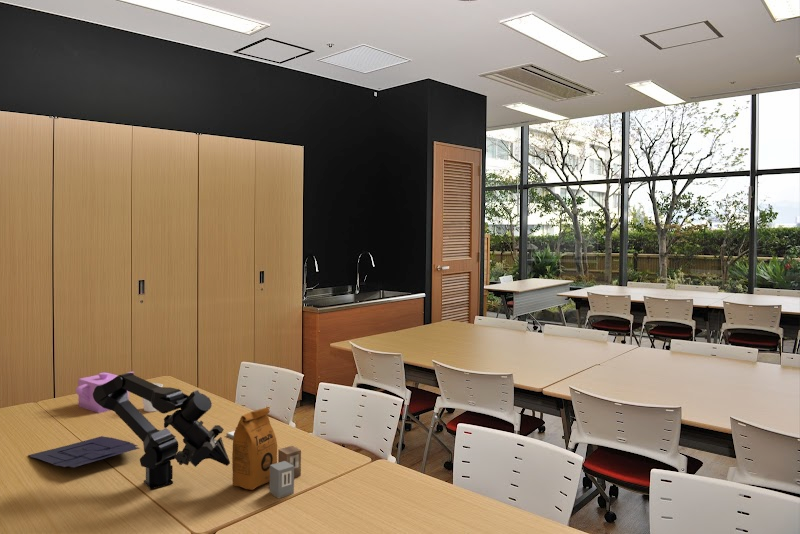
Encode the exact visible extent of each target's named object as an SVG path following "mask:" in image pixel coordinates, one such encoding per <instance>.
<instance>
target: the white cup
mask: <svg viewBox="0 0 800 534" xmlns="http://www.w3.org/2000/svg"><path fill="white" fill-rule="evenodd" d="M152 383H153V384H155V385H157V386H159V387H164V384H162V383H159V382H152ZM142 404H143V411H144V412H149V413H150V412H151V413H152V412H159V411H158V410H156V409H155V408H153V406H152V404H151V402H150V401H148V400H146V399H144V398H142Z"/></svg>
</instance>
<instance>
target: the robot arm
mask: <svg viewBox="0 0 800 534" xmlns="http://www.w3.org/2000/svg"><path fill="white" fill-rule="evenodd" d="M117 375H118V376H117V377H115V378H114V379H113V380H111V381H109V382H107V383H105V384H102V385H99V386H97V387H96V388H95V389H94V392H93V398H94V400H95V402H96V403H98V404H99V405H100V406H102V407H103V408H106V409H109V411H112V412H114V413H115V414H116V415H117V416H118V417H119V418H120V419H121V420H122V421H123V422H124V423H125V425H126V426H127V427H129V429H131V431H132V432H133V433H134V434H135V435H136V436H137V437H138V438H139V439H140V440H141V442H142V444H143V452H144V454H143V455H142V456H141V457H140V458H139V464H140V466H141V467H143V468H145V479H144V480H143V483H144V484H145V485H146V486H147V487H148V489H150V490H154V489H157V488H161V487H165V486H168V485H169V486H170V485H172V484H173V483H174V481H173V475H174V474H173V473H174V472H173V469H174V468H173V465H172V461H174V460H176V462H177V463H178V465H179V466H181V465H185V466H188V465H189V464H192V465H193V467H195V468H196V467H197V466H199V464H200V463H201V462H203V461H204V460H207V459H208V460H209V459H210V460H212V461H216V462H218V463H220V464H222V465H224V466H226V467H227V466H229V465H230V463H231V460H230V459H229V456H228V454H227V451H226V448H225V445H224V441H223V438H222V437H221V436H220V437H218V436H219V435H220V434H222V433H223V432H224V428H223V427H222V426H221V425H220V424H219V425H218V424H216V425H213V427H212V428H211V429H209V430H208V429H207V428H206V427H205V426H204V425H203V424H204V421H202V420H200V421H199V419H200V418H202V417H203V416H204V415H205V414H206V413H207V412H209V411H210V410H211V408H212V400H211V399H210V397H208V396H207V395H206V394H203V393H201V392H200V391H199V390H197V389H196V390H194V391H192V392H191V393H190V394H189V395H188V394H187V393H184V392H183V391H182V390H181V389H179V388H176V387H171V386H170V387H168V386H167V387H164V386H163V387H159V386H157V385H155V384H153V383H154V382H150V381H148V380H147V379H144V378H141V377H139V376H137V375H135V373H134V372H133V373H128V372H126V373H122V374H117ZM127 391H129V393H131V394H133V395H135V396H138V397H139V398H141V399H143V398H144V399H146V400H148V401H150V402H151V404H152V406H153V408H155V409H156V410H158V411H157V412H159V413H160V414H166V416H165V417H164V418H163V427H164V428H163V429H157V428H156V427H155V426H154V425H153V423H151V421H149V419H148V418H146V416H144V414H143V413H142V412H141V411H140V410H139V409H138V408H137V407H136V406H135V405H134V404H133V403H132V402H131V401H130V399H129V400H128V394H127ZM173 411H174V412H173ZM170 412H173V413H172V414H167V413H170ZM169 426H171V427H172V429H174V430H175V431H176V432H177V433H179V434H180V435H181V436H182V437H183V439H182V442H183V444H184V447H183V449H182V450H179V441H178V440H177V438H176V435H174V434H173V433H172V432H171V431H170V430H169V429H168V427H169ZM217 437H218V439H217Z"/></svg>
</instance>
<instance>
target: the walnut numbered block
mask: <svg viewBox="0 0 800 534" xmlns="http://www.w3.org/2000/svg"><path fill="white" fill-rule="evenodd" d="M282 461H286V462H288V463H290V464H291V465H293V466H294V479H295V478H297V477H301V475H302V472H301V471H302V470H301V469H302V449H299V448H297V447H296V446H294V445H290V446H287V447H286V446H285V447H283V448H279V449H278V448H277V463H279V462H282Z"/></svg>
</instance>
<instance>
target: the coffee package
mask: <svg viewBox="0 0 800 534" xmlns="http://www.w3.org/2000/svg"><path fill="white" fill-rule="evenodd" d="M269 413H270V408H269V407H268V406H266V407H264V408H259V409H257V410H253V411H250V412H247V413H246V414H244V415H241V416H240V419H239V421H238V423H237V426H236V427H235V430H234V431H235V432H234V437H233V438H232V455H231V456H232V457H231V459H232V464H231V465H232V467H231V469H232V477H231V479H232V486H234V487H241V488H244V489H245V490H250V491H251V490H254V489H255V488H258V487H260V486H261V485H262V486H263V485H266V484H268V483H270V465H272V464H275V463H278V441H277V436H276V434H275V431H274V428H273V426H272V424H271V422H270V418H269V416H268V414H269Z"/></svg>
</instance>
